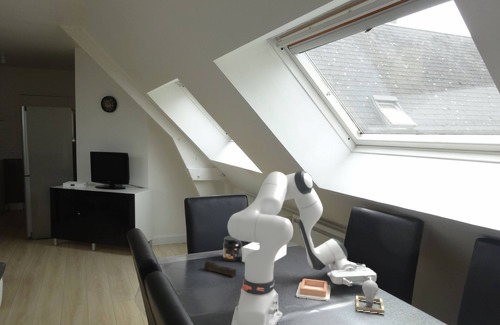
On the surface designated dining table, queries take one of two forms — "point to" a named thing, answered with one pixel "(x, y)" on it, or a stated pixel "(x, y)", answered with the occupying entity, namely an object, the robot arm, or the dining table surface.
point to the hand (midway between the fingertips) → (361, 283)
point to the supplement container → (232, 249)
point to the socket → (313, 290)
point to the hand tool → (219, 269)
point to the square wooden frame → (368, 307)
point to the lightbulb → (370, 291)
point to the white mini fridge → (255, 246)
